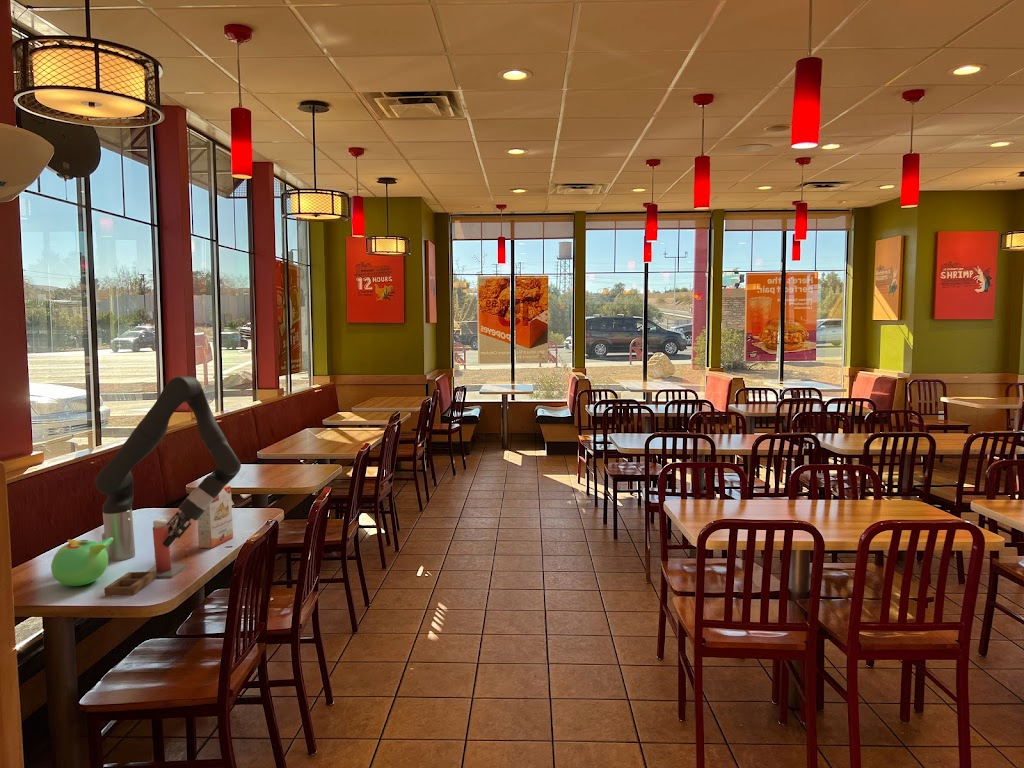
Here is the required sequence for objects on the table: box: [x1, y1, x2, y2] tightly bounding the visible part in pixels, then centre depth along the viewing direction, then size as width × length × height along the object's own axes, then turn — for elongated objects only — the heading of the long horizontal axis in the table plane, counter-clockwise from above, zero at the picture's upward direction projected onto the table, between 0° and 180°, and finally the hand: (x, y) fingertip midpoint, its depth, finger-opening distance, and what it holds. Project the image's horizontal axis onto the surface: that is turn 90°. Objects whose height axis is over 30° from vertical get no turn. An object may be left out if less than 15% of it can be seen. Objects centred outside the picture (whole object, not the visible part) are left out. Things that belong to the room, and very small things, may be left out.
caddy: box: [103, 571, 157, 597], centre depth 225 cm, size 14×9×2 cm, turn 1°
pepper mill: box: [152, 518, 172, 572], centre depth 238 cm, size 5×5×17 cm
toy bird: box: [50, 537, 113, 587], centre depth 230 cm, size 18×17×15 cm
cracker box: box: [196, 485, 234, 549], centre depth 270 cm, size 14×6×21 cm, turn 168°
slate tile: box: [145, 563, 188, 579], centre depth 239 cm, size 11×11×1 cm
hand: (162, 542), depth 238 cm, fingers open, 8 cm apart
